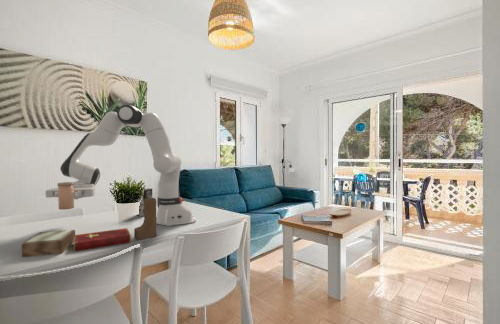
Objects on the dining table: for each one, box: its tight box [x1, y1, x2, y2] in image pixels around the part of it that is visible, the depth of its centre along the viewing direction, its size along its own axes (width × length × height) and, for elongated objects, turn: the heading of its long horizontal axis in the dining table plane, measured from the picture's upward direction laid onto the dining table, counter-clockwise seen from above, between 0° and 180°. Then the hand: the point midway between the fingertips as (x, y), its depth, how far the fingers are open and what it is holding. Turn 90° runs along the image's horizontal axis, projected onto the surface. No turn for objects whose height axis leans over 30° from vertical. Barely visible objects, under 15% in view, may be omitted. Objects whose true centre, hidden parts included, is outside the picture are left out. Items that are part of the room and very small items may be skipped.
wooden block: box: [133, 197, 157, 241], centre depth 123 cm, size 9×4×18 cm, turn 128°
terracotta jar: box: [57, 181, 75, 211], centre depth 124 cm, size 6×6×12 cm
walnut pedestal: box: [21, 229, 76, 258], centre depth 109 cm, size 13×15×5 cm
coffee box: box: [139, 188, 153, 217], centre depth 168 cm, size 9×6×16 cm
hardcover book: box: [73, 227, 132, 253], centre depth 116 cm, size 12×21×4 cm, turn 122°
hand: (65, 194), depth 123 cm, fingers closed on terracotta jar, 6 cm apart
